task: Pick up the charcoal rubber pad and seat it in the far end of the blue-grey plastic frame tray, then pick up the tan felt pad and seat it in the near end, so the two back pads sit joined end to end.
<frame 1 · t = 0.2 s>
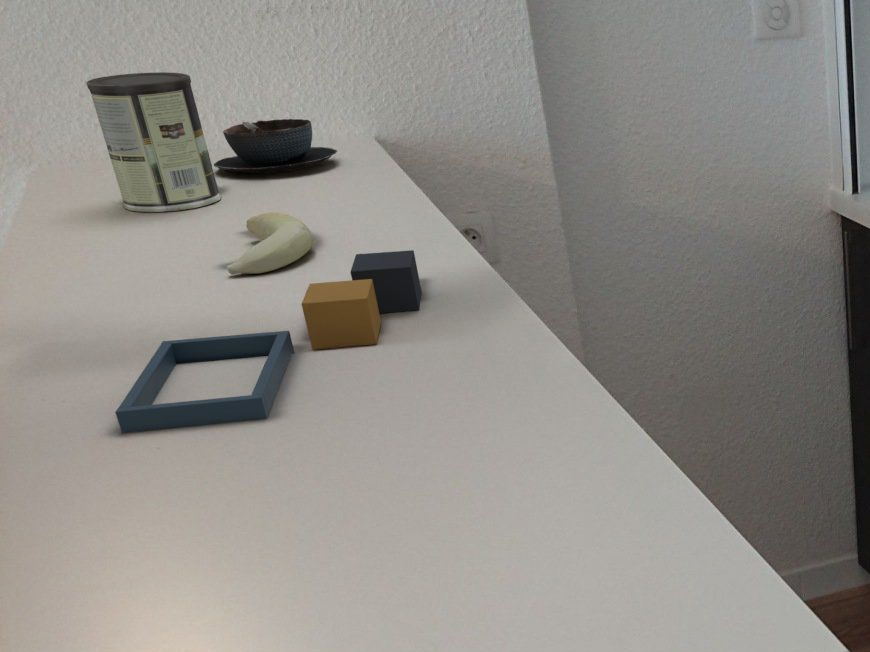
fruit: (268, 257, 132), on the table
coffee can: (173, 204, 153), on the table
pad tan: (347, 336, 110), on the table
pad charcoal: (391, 303, 118), on the table
soup bowl: (276, 169, 170), on the table
frame: (218, 399, 96), on the table
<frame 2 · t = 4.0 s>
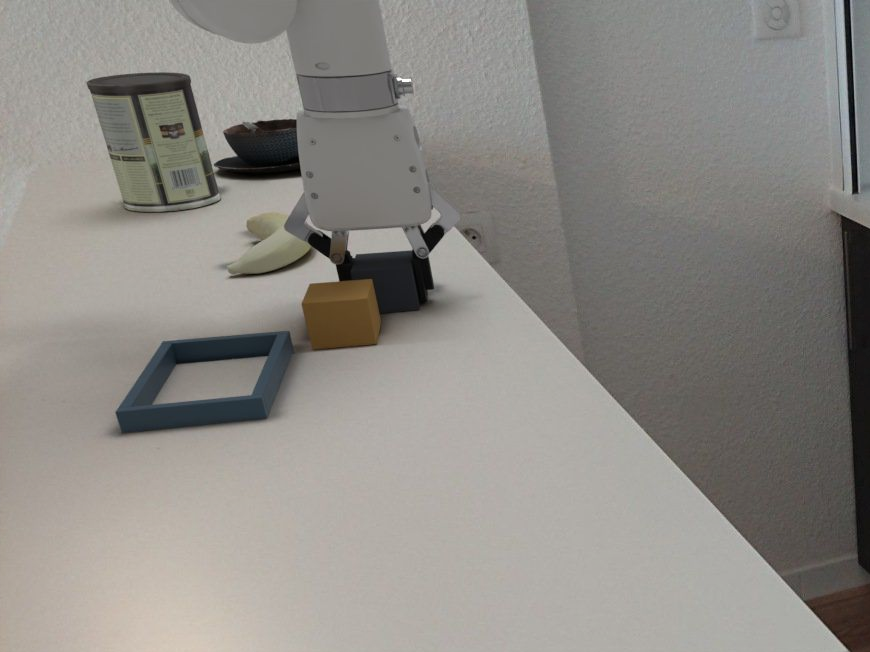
hand: (390, 298, 118), 0 cm above the table, tool pointing down, fingers closed on pad charcoal, 5 cm apart
pad charcoal: (391, 303, 118), on the table, touching gripper
everything else where it was.
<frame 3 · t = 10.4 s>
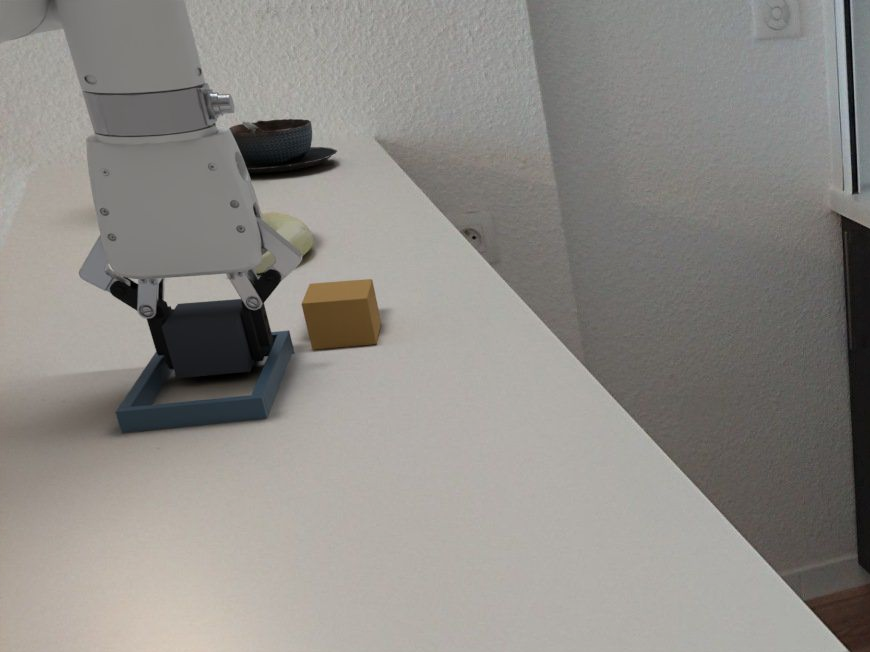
hand: (218, 357, 98), 2 cm above the table, tool pointing down, fingers closed on pad charcoal, 5 cm apart
pad charcoal: (220, 362, 99), point 2 cm above the table, touching gripper
everything else where it was.
when the fingers open (3 cm above the table, at t = 15.5 s): pad charcoal drops 2 cm, resting on frame.
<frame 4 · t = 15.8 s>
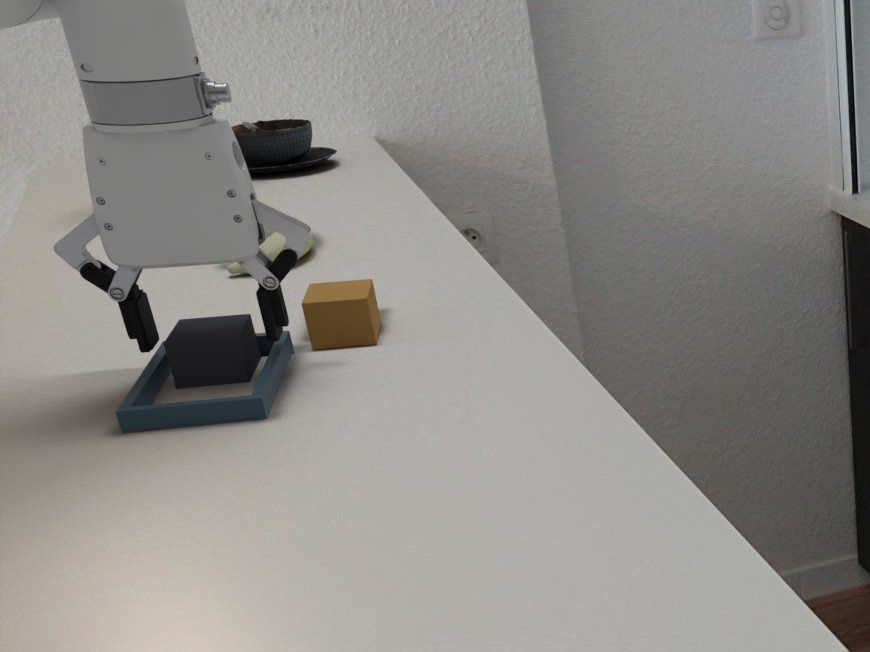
hand: (213, 340, 98), 3 cm above the table, tool pointing down, fingers open, 8 cm apart
pad charcoal: (221, 377, 99), resting on frame
everything else where it was.
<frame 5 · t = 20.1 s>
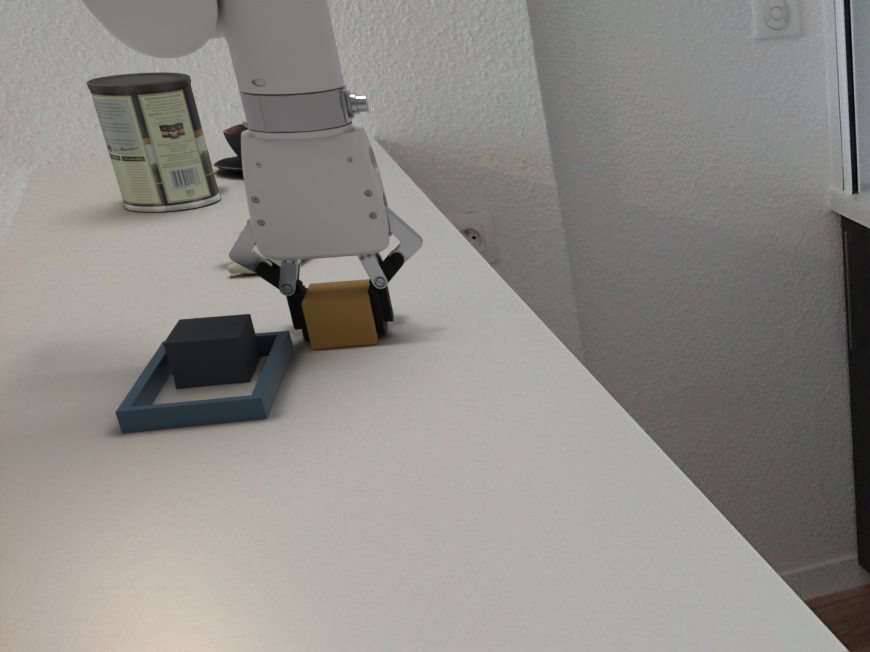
hand: (346, 331, 109), 0 cm above the table, tool pointing down, fingers closed on pad tan, 5 cm apart
pad tan: (347, 336, 110), on the table, touching gripper
everything else where it was.
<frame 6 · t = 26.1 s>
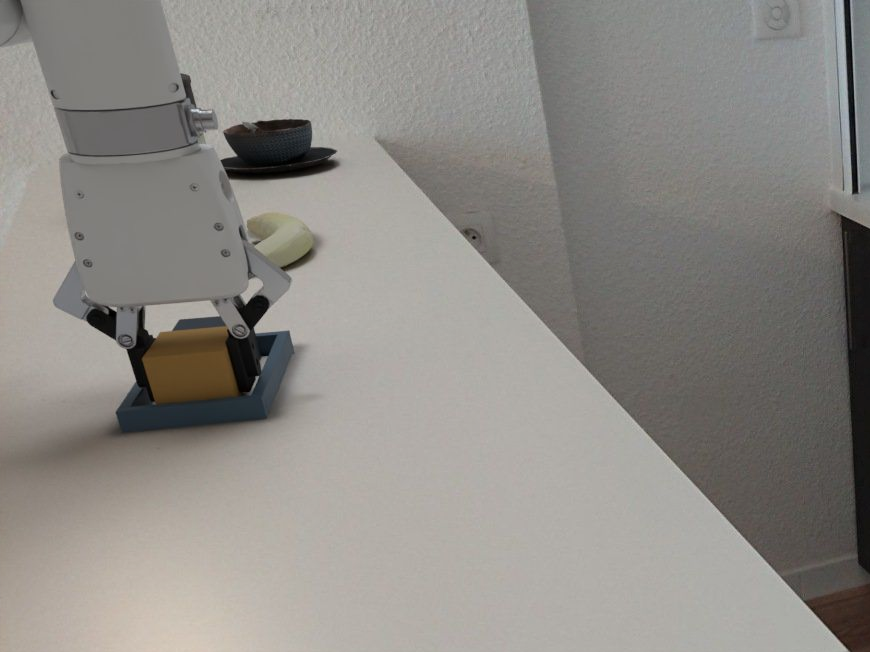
hand: (204, 388, 93), 2 cm above the table, tool pointing down, fingers closed on pad tan, 5 cm apart
pad tan: (205, 393, 93), point 2 cm above the table, touching gripper
everything else where it was.
when the fingers open (3 cm above the table, at t = 31.3 s): pad tan drops 2 cm, resting on frame.
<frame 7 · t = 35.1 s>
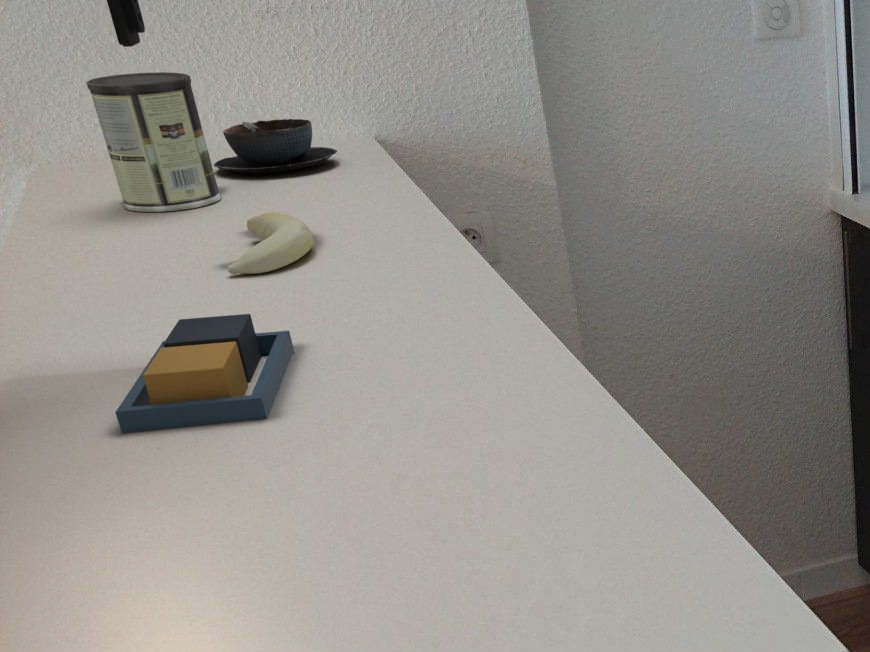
hand: (53, 46, 90), 24 cm above the table, tool pointing down, fingers open, 9 cm apart
pad tan: (205, 409, 93), resting on frame
everything else where it was.
at the end: pad charcoal 0.3 cm from the target spot in the frame, point 0.5 cm above the frame's base; pad tan 0.3 cm from the target spot in the frame, point 0.5 cm above the frame's base; pad tan tilted 0° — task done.
